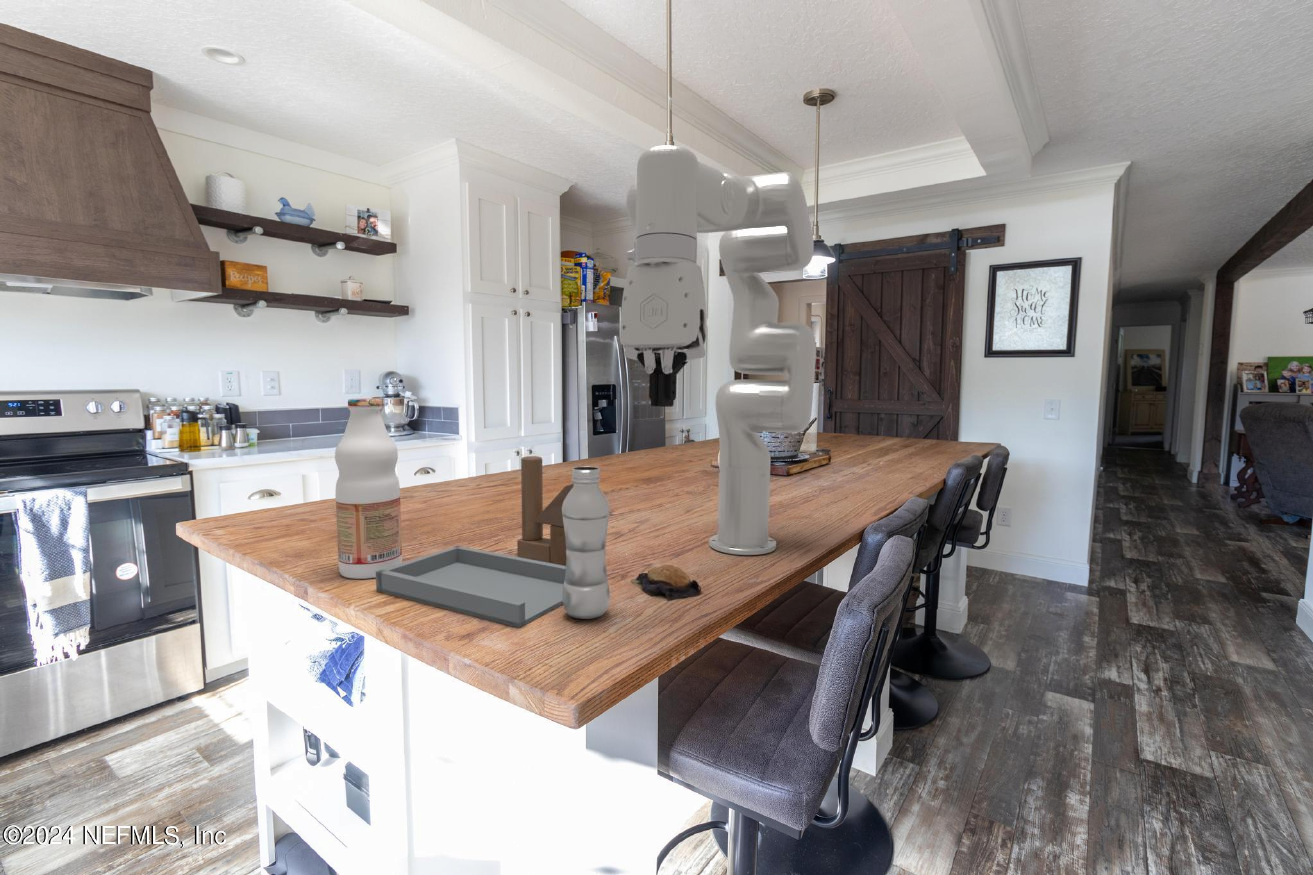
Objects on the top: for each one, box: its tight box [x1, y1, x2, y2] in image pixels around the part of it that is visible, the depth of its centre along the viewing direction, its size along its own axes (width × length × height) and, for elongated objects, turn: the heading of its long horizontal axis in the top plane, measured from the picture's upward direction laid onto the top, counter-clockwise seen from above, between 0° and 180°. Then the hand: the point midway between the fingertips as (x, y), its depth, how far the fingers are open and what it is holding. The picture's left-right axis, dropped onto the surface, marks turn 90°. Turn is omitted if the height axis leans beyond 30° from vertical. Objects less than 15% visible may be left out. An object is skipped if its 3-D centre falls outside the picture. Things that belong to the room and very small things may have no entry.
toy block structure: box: [516, 455, 574, 566], centre depth 105 cm, size 4×11×18 cm, turn 61°
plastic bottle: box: [562, 465, 611, 620], centre depth 82 cm, size 6×7×20 cm
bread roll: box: [630, 564, 704, 602], centre depth 94 cm, size 11×8×4 cm
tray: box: [375, 545, 566, 629], centre depth 91 cm, size 16×27×3 cm, turn 62°
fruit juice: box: [334, 398, 403, 580], centre depth 99 cm, size 9×9×28 cm
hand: (662, 406), depth 76 cm, fingers closed
